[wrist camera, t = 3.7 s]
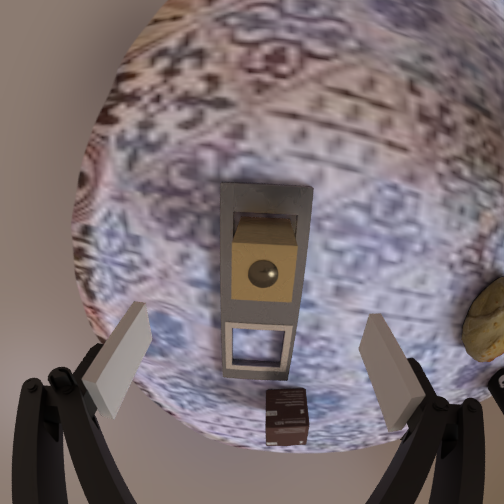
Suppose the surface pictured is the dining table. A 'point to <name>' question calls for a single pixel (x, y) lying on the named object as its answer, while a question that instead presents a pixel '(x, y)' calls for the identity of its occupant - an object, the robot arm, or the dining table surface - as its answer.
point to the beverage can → (498, 388)
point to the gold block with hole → (263, 259)
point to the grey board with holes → (261, 312)
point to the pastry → (486, 324)
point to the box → (286, 417)
